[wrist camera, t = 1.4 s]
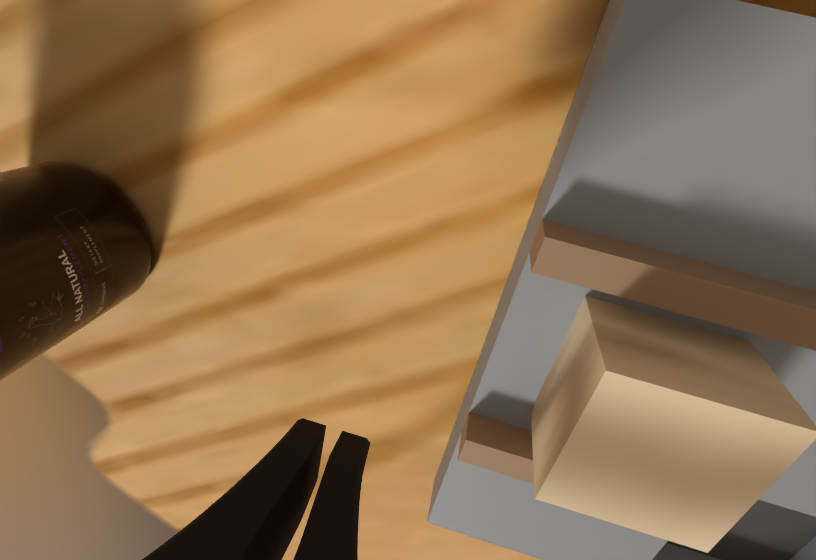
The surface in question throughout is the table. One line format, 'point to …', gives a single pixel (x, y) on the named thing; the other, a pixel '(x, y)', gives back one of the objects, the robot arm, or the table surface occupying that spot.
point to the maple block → (661, 425)
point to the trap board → (657, 259)
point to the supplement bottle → (63, 256)
